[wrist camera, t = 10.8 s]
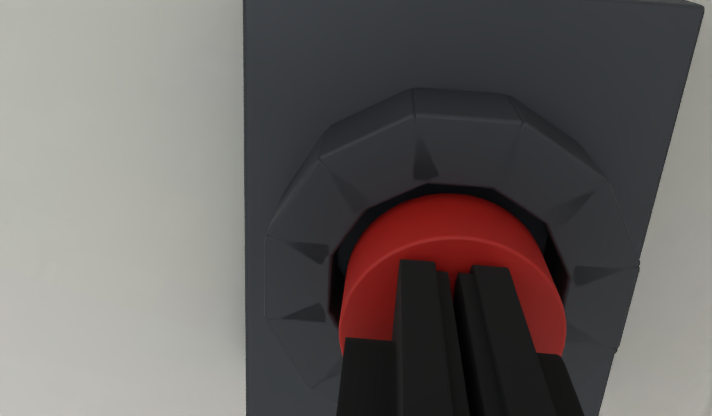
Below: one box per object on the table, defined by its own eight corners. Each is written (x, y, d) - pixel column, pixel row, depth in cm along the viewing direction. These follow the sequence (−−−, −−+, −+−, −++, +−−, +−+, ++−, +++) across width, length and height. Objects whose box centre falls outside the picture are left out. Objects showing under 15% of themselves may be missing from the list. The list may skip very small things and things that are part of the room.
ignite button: (352, 183, 12) (344, 227, 10) (561, 200, 11) (587, 246, 10) (341, 355, 13) (333, 417, 11) (527, 371, 13) (545, 436, 11)
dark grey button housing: (264, -36, 14) (215, -18, 10) (661, -9, 13) (761, 21, 10) (262, 366, 18) (226, 484, 14) (567, 392, 17) (612, 520, 14)
